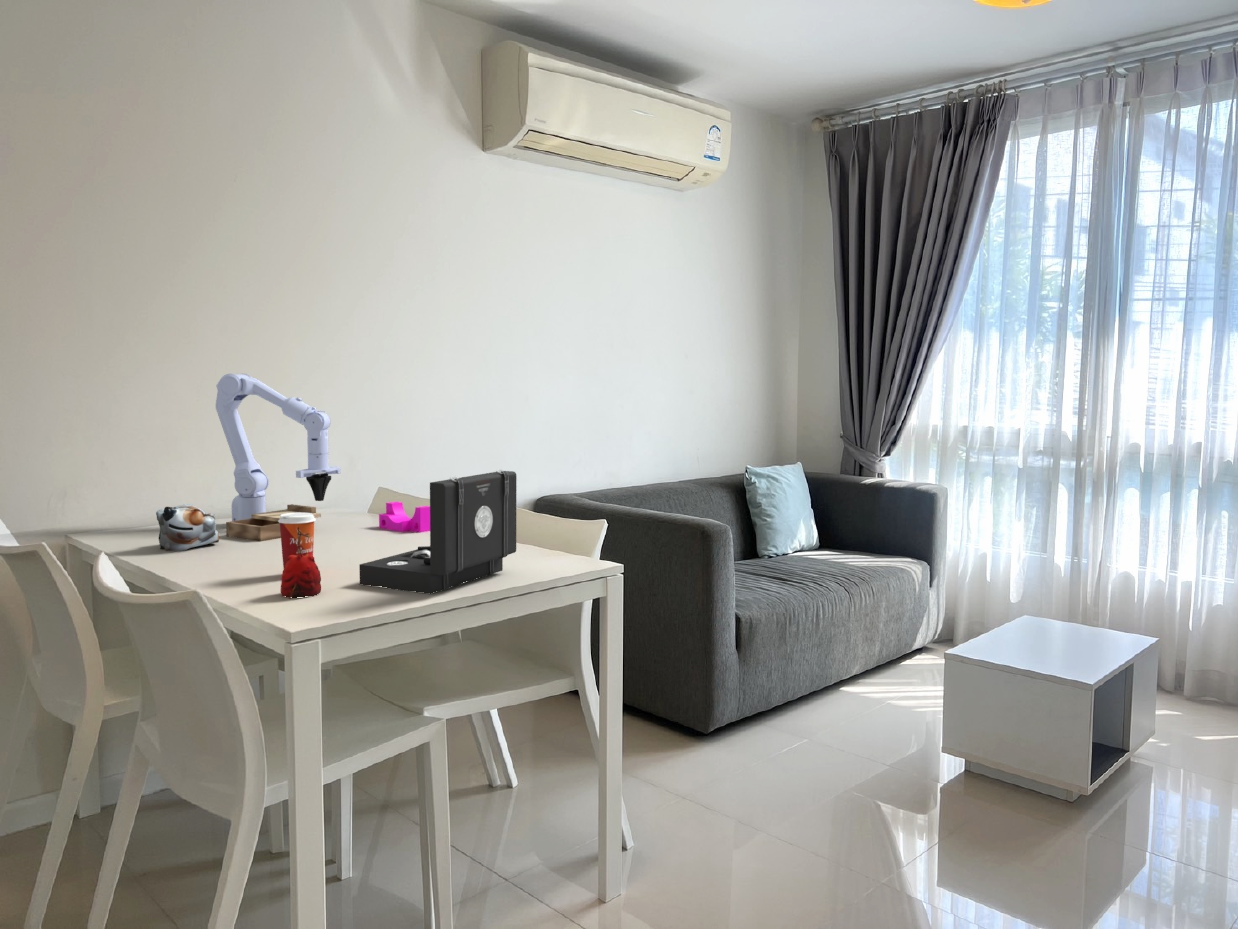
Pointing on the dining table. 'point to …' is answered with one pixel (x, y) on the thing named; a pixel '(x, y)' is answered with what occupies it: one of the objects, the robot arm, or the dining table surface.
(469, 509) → the watch box
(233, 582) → the dining table surface
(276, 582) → the dining table surface
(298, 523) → the paper cup
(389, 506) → the toy block
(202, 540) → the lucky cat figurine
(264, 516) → the lid
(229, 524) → the walnut box
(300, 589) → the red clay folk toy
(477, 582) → the dining table surface
